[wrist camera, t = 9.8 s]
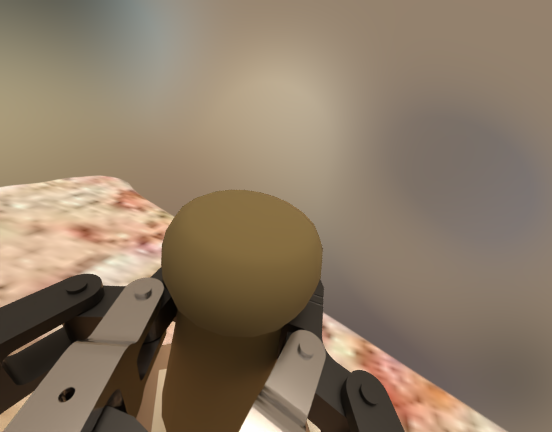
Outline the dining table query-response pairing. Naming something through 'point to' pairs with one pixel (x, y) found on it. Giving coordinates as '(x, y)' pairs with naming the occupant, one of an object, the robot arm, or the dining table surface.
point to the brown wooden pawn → (231, 302)
